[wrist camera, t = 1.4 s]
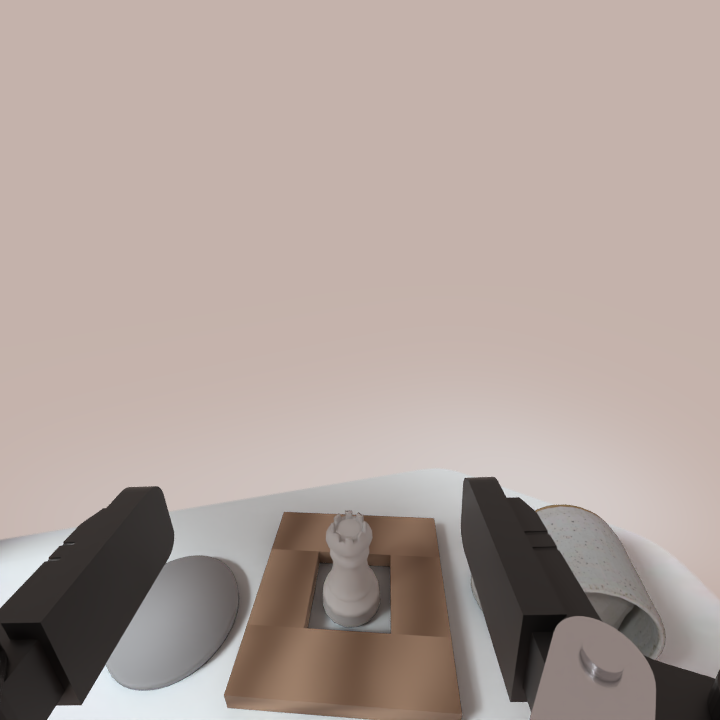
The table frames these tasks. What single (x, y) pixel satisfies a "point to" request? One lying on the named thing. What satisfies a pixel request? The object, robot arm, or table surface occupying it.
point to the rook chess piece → (350, 572)
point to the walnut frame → (349, 632)
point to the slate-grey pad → (177, 624)
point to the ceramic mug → (604, 575)
